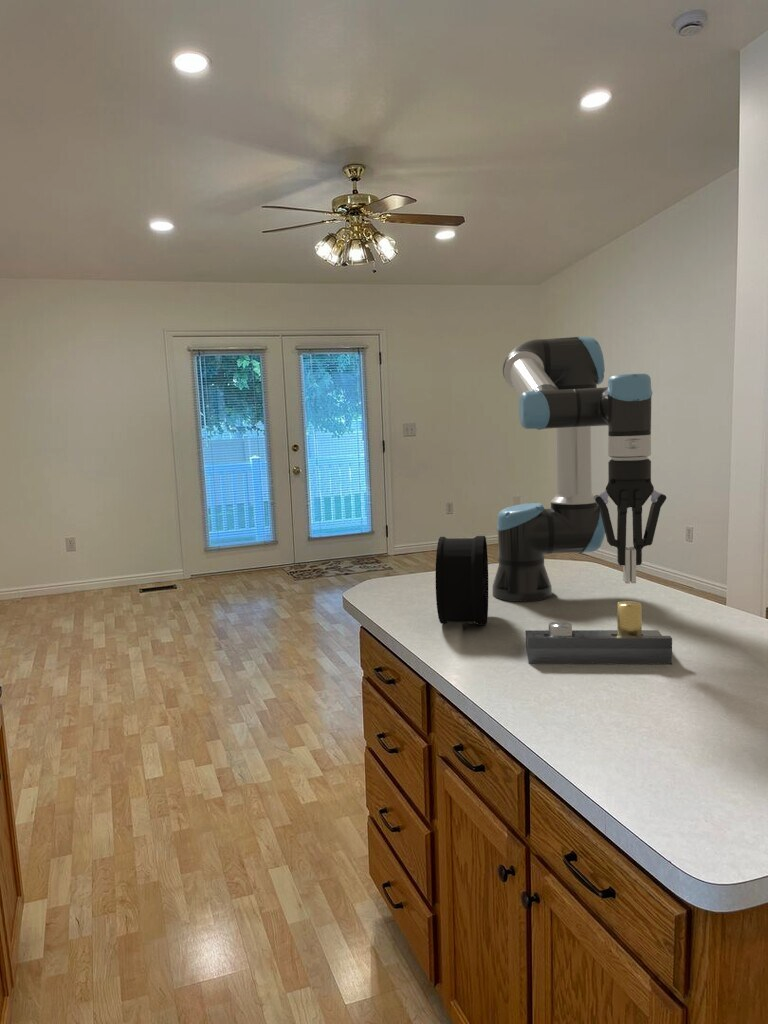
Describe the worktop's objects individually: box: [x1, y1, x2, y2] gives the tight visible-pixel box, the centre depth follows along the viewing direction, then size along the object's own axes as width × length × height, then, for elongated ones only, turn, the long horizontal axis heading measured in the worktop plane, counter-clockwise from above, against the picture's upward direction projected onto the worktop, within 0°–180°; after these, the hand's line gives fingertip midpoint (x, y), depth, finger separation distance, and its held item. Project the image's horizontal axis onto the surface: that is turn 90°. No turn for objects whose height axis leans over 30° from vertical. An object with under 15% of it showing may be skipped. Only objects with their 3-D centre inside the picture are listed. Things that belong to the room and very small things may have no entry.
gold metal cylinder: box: [616, 600, 643, 636], centre depth 135 cm, size 4×4×10 cm
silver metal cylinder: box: [548, 620, 573, 636], centre depth 138 cm, size 4×4×6 cm
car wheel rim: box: [435, 535, 489, 625], centre depth 160 cm, size 20×10×20 cm, turn 168°
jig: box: [524, 629, 673, 665], centre depth 137 cm, size 11×26×5 cm, turn 81°
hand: (629, 581), depth 134 cm, fingers closed
